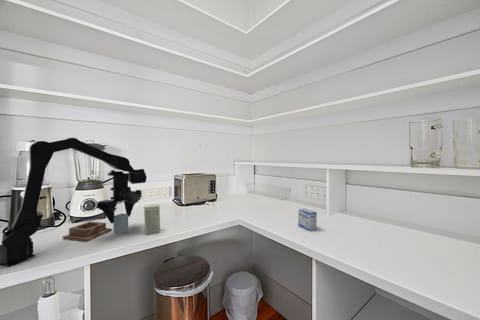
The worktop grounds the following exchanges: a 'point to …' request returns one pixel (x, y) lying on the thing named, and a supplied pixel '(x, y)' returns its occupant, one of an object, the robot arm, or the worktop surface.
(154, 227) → the skincare box
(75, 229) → the walnut socket
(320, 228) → the worktop surface
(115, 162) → the robot arm
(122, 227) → the slate peg
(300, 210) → the medicine box
